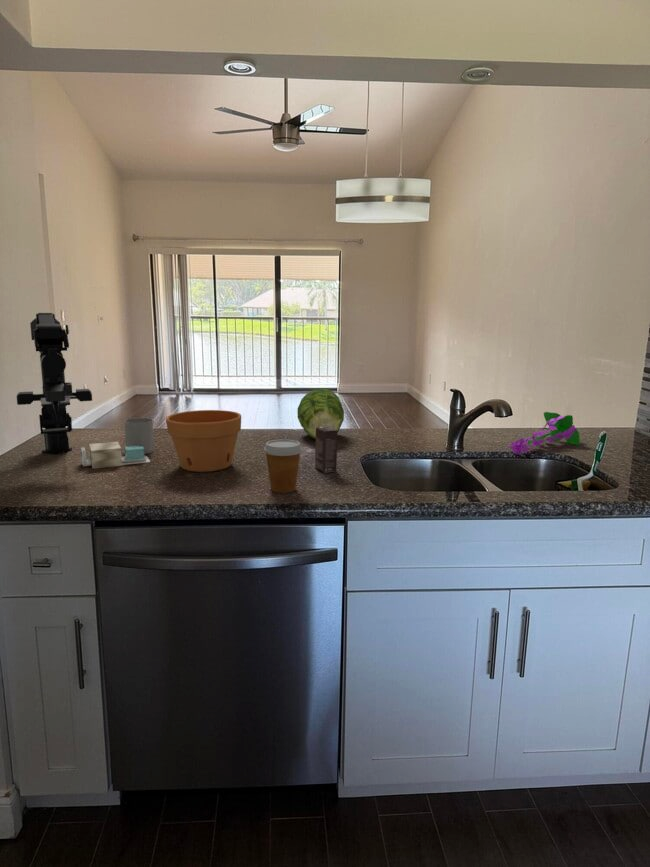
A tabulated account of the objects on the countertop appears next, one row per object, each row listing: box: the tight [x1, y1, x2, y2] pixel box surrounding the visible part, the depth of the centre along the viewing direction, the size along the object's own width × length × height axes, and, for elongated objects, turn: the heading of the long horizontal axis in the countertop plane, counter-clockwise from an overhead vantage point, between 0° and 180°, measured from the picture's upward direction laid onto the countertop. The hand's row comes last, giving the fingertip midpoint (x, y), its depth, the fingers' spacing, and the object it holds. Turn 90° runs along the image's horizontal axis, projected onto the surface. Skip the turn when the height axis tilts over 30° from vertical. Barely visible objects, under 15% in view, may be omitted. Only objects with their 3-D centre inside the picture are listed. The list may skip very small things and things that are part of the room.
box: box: [314, 427, 338, 474], centre depth 165 cm, size 6×4×12 cm
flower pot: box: [165, 409, 242, 473], centre depth 168 cm, size 21×21×15 cm
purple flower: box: [509, 411, 581, 455], centre depth 195 cm, size 12×16×35 cm
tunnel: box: [88, 441, 123, 469], centre depth 170 cm, size 8×9×5 cm
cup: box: [124, 417, 155, 455], centre depth 184 cm, size 8×8×10 cm
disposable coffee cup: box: [263, 439, 303, 494], centre depth 147 cm, size 10×10×12 cm
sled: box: [80, 445, 146, 467], centre depth 171 cm, size 18×5×4 cm, turn 115°
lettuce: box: [297, 388, 345, 440], centre depth 204 cm, size 17×23×16 cm
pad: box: [122, 455, 151, 466], centre depth 174 cm, size 8×7×1 cm
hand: (57, 427), depth 163 cm, fingers closed
